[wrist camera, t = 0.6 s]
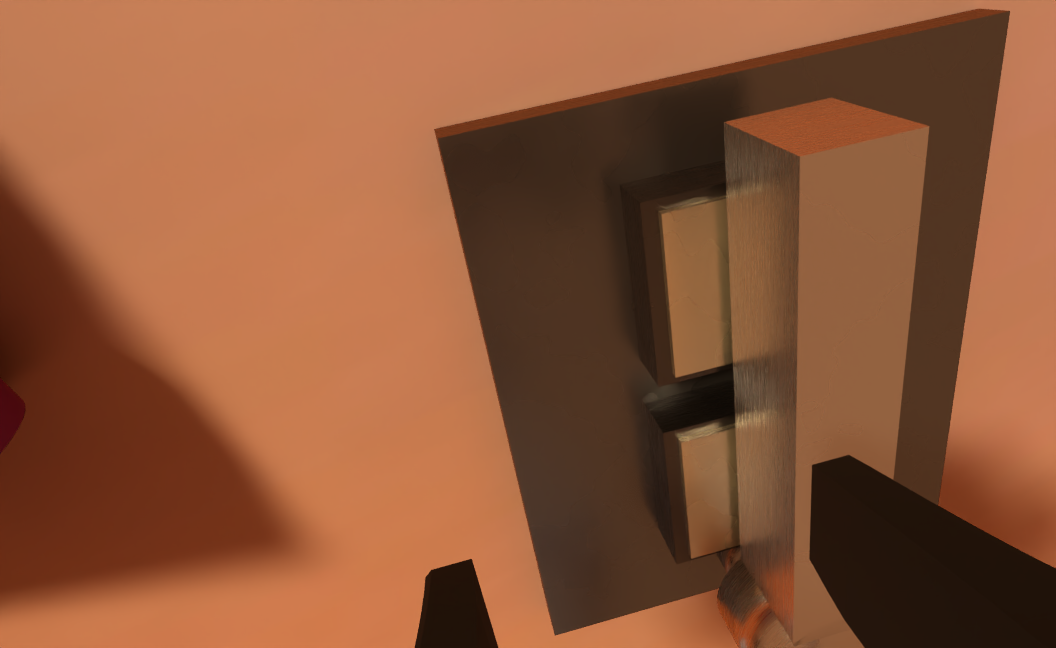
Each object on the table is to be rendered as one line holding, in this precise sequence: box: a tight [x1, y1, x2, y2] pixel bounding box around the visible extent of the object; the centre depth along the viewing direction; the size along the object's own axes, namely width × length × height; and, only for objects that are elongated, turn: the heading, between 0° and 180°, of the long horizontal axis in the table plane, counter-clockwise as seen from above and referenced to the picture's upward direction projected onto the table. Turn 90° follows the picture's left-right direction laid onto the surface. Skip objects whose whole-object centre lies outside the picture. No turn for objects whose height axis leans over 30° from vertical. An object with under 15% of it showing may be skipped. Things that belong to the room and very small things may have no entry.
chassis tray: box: [434, 9, 1010, 635], centre depth 20 cm, size 17×14×3 cm
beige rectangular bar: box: [717, 98, 929, 648], centre depth 17 cm, size 16×4×3 cm, turn 10°
